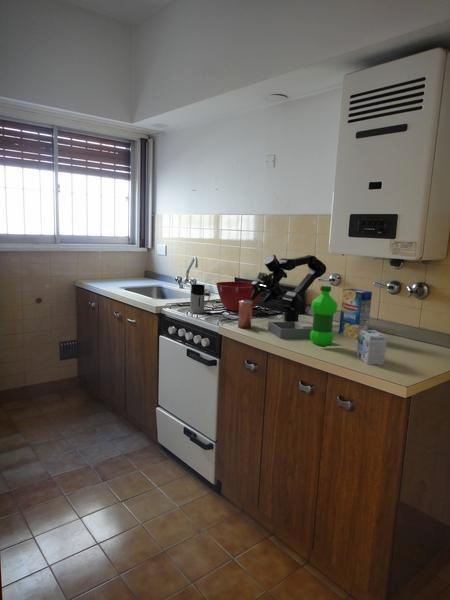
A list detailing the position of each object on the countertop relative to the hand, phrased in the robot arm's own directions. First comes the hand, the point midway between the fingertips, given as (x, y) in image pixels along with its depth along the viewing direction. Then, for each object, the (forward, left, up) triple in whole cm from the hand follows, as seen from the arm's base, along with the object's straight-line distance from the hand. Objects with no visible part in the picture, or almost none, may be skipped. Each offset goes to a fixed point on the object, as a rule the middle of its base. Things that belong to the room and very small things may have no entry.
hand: (257, 301), depth 207 cm
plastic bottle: (-17, +37, -13) cm, 42 cm away
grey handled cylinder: (+20, -35, -13) cm, 43 cm away
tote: (-12, +21, -13) cm, 27 cm away
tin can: (+6, +3, -13) cm, 14 cm away
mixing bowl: (-5, -43, -13) cm, 45 cm away
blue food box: (-39, +26, -13) cm, 48 cm away
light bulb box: (-26, +59, -13) cm, 65 cm away
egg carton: (-17, +21, -12) cm, 29 cm away
